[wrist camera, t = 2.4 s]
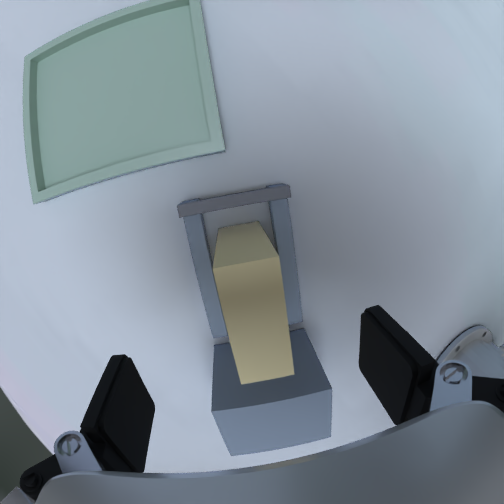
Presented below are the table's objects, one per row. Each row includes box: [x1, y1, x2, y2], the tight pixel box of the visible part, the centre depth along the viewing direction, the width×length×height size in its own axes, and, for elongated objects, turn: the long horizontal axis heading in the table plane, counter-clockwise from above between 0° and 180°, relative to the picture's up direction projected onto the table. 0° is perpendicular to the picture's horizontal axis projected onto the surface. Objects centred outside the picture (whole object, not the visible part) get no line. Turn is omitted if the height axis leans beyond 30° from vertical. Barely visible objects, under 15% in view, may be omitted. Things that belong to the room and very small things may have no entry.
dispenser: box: [177, 184, 332, 456], centre depth 19 cm, size 8×18×8 cm, turn 9°
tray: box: [23, 0, 225, 204], centre depth 17 cm, size 16×14×2 cm
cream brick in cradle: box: [213, 221, 294, 384], centre depth 18 cm, size 3×7×9 cm, turn 9°
